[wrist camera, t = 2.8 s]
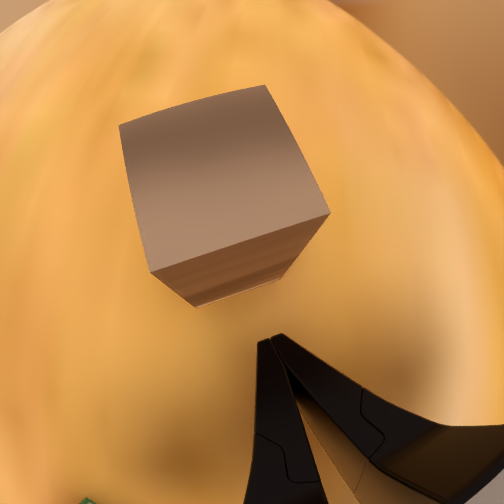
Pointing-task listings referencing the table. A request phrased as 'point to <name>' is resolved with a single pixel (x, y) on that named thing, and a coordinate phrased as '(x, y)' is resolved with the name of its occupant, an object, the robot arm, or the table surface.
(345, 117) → the table surface
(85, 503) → the stack of blocks
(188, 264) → the walnut block
